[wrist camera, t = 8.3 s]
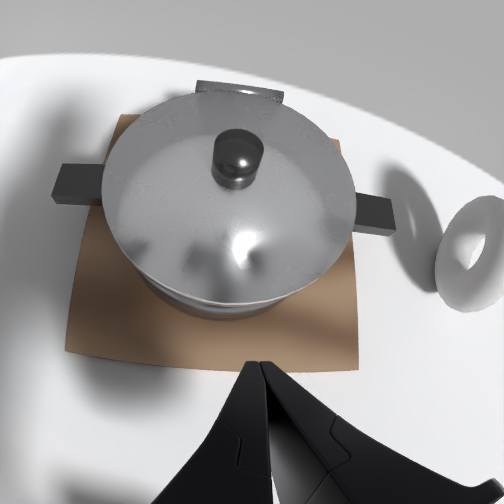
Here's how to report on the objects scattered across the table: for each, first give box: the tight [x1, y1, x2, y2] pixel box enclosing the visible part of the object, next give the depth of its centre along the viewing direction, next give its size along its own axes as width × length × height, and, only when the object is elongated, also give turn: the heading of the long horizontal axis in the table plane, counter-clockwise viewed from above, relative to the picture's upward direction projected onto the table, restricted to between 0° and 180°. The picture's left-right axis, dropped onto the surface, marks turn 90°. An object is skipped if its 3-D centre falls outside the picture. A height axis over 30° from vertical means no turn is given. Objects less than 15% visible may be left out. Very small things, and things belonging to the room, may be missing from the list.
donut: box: [435, 196, 504, 313], centre depth 20 cm, size 10×4×10 cm, turn 158°
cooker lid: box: [102, 80, 356, 307], centre depth 16 cm, size 15×14×3 cm
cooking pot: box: [51, 164, 396, 321], centre depth 20 cm, size 14×22×5 cm, turn 88°
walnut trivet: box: [65, 114, 359, 372], centre depth 22 cm, size 20×20×1 cm
